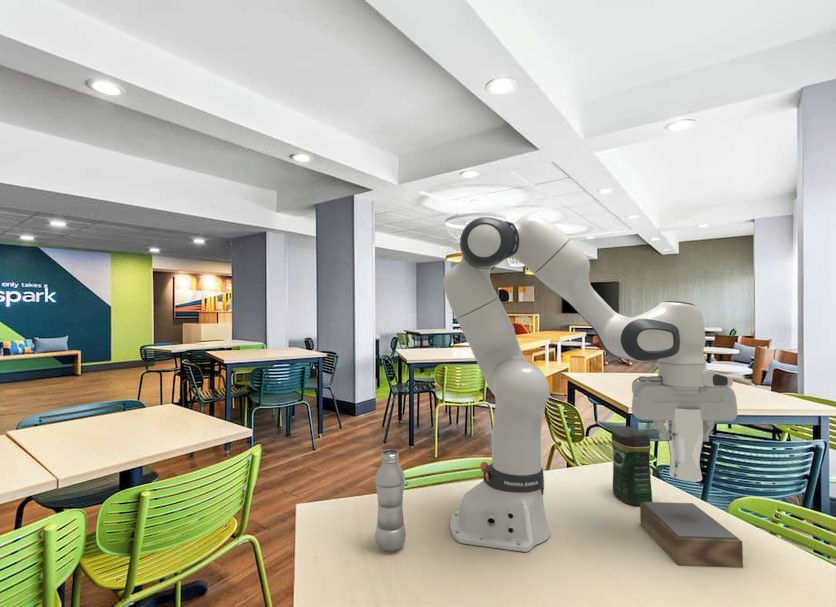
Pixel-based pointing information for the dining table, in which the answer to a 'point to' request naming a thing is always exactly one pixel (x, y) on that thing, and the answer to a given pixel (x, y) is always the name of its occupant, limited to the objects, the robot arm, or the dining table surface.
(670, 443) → the beer glass
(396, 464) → the plastic bottle
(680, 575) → the dining table surface
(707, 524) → the walnut plinth
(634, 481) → the coffee jar
